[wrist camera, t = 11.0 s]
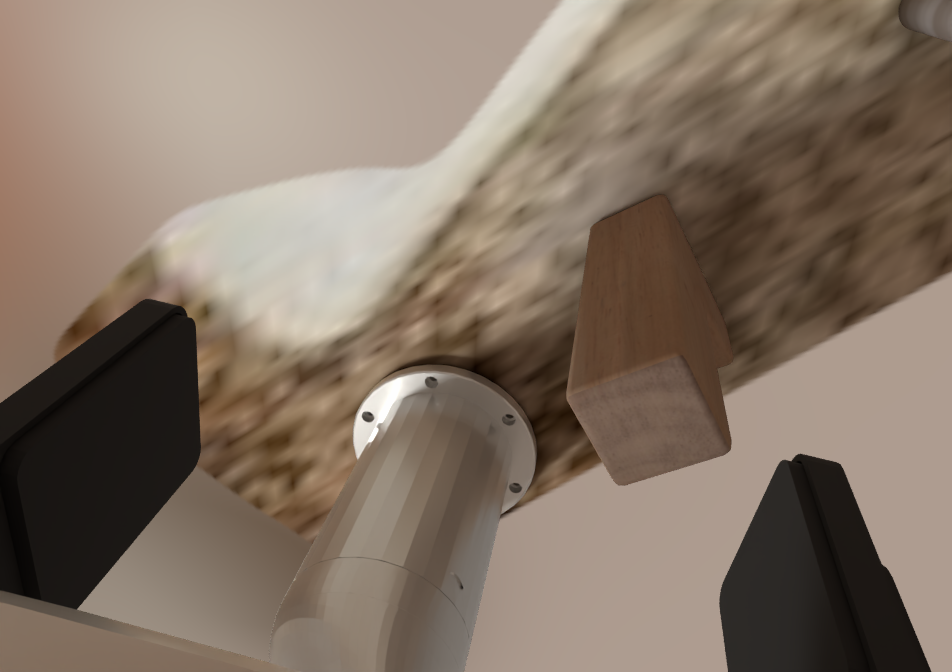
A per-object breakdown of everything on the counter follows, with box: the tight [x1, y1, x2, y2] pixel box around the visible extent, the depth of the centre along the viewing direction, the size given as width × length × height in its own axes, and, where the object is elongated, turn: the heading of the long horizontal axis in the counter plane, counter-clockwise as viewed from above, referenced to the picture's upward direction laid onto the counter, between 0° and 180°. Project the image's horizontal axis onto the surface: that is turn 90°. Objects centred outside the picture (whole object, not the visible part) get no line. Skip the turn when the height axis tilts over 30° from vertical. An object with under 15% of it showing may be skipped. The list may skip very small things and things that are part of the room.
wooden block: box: [566, 195, 733, 485], centre depth 34 cm, size 9×4×18 cm, turn 30°
